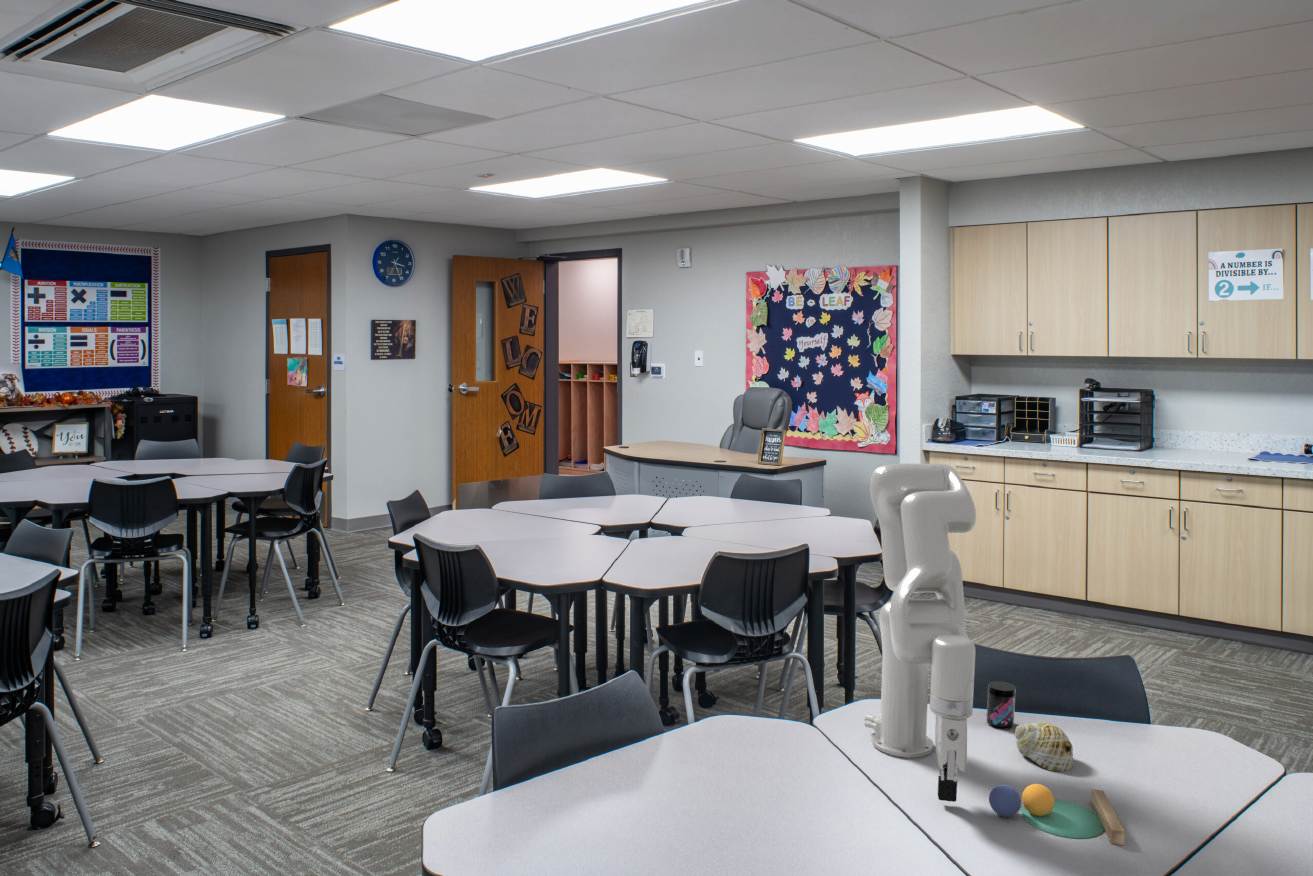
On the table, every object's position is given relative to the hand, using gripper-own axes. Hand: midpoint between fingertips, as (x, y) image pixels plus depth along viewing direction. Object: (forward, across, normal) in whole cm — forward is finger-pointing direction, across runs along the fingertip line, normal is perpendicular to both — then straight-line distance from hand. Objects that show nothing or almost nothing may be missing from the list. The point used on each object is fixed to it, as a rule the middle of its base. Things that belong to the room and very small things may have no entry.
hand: (946, 798), depth 175 cm
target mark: (+1, 0, -20) cm, 20 cm away
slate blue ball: (-1, -1, -10) cm, 10 cm away
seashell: (+2, +25, -21) cm, 32 cm away
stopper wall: (+1, 0, -28) cm, 28 cm away
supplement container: (+2, +41, -15) cm, 44 cm away
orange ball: (-1, 0, -16) cm, 16 cm away
